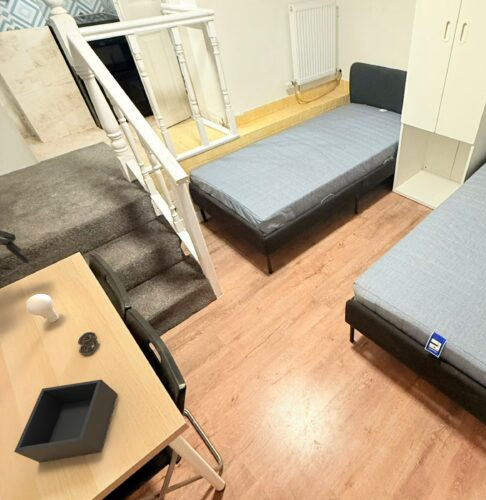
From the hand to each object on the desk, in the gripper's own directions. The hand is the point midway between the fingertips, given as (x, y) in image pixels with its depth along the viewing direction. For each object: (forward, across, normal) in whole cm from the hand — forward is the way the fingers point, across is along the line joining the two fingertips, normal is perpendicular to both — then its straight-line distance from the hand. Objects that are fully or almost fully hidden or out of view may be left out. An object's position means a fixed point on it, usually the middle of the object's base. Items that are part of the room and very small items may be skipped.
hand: (3, 277), depth 96 cm
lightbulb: (+18, 0, +3) cm, 18 cm away
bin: (+43, -17, -22) cm, 51 cm away
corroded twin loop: (+30, -1, -9) cm, 31 cm away
